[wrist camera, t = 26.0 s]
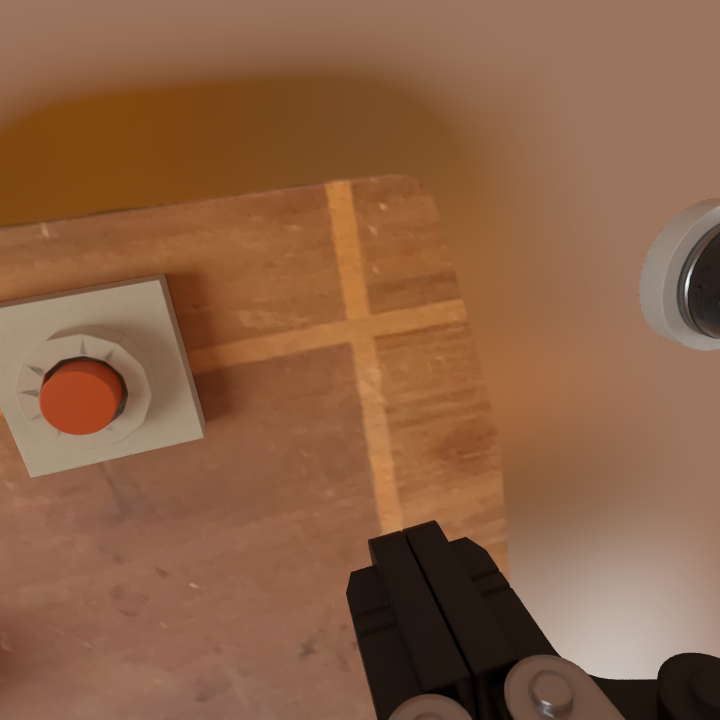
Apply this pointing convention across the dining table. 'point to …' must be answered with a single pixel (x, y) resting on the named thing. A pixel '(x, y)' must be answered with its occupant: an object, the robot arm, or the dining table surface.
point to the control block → (110, 348)
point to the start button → (81, 397)
